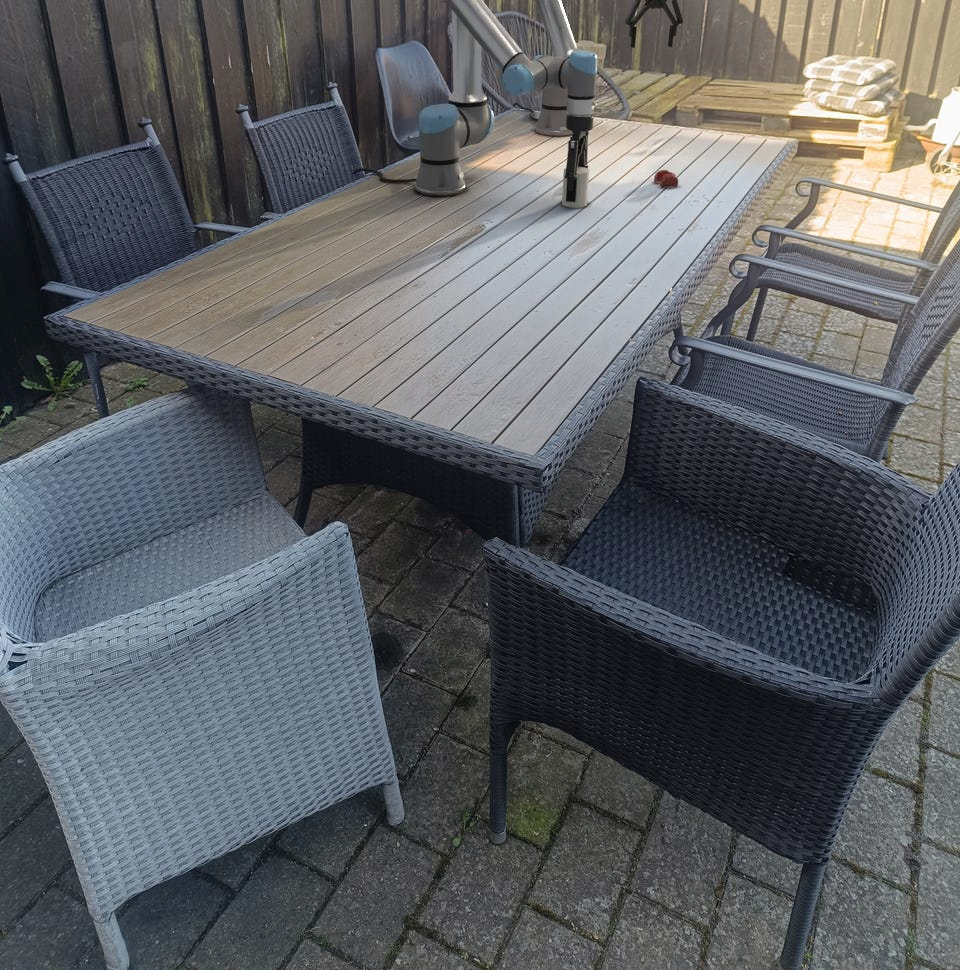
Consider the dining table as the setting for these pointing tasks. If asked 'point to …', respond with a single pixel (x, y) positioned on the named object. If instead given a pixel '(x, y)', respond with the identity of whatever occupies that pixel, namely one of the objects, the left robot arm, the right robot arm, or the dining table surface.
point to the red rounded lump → (666, 178)
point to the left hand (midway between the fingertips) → (574, 196)
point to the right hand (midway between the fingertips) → (651, 47)
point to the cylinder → (577, 189)
